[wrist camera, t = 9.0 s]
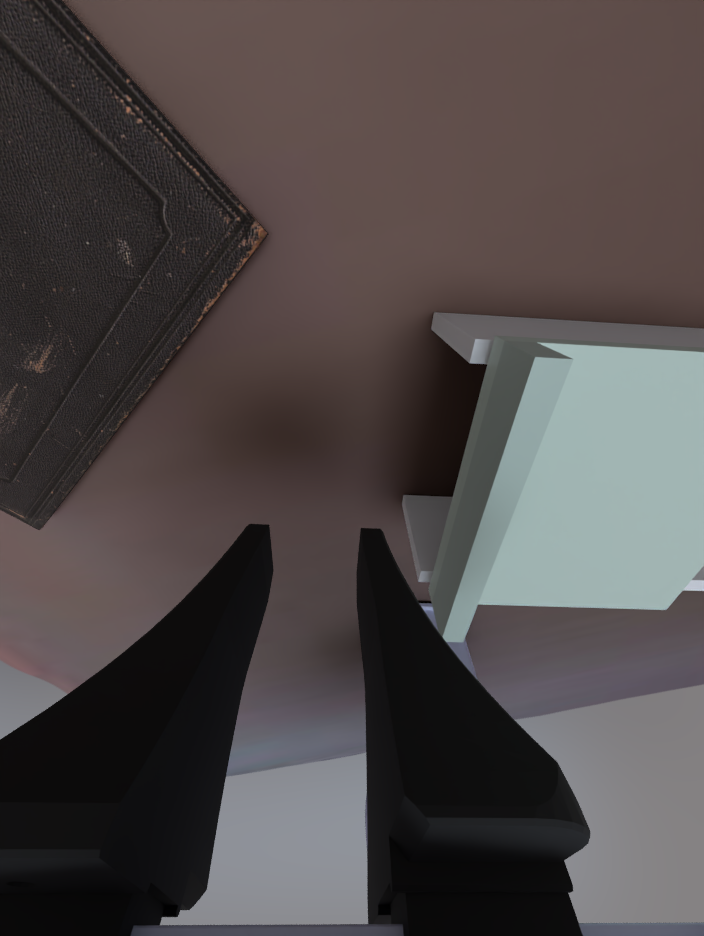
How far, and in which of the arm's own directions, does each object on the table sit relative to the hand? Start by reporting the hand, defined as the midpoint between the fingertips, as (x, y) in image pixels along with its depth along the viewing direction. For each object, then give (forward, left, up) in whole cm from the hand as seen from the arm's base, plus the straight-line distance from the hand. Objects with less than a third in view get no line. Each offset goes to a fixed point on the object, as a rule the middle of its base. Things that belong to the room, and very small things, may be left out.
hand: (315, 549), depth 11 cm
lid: (0, -11, -4) cm, 12 cm away
